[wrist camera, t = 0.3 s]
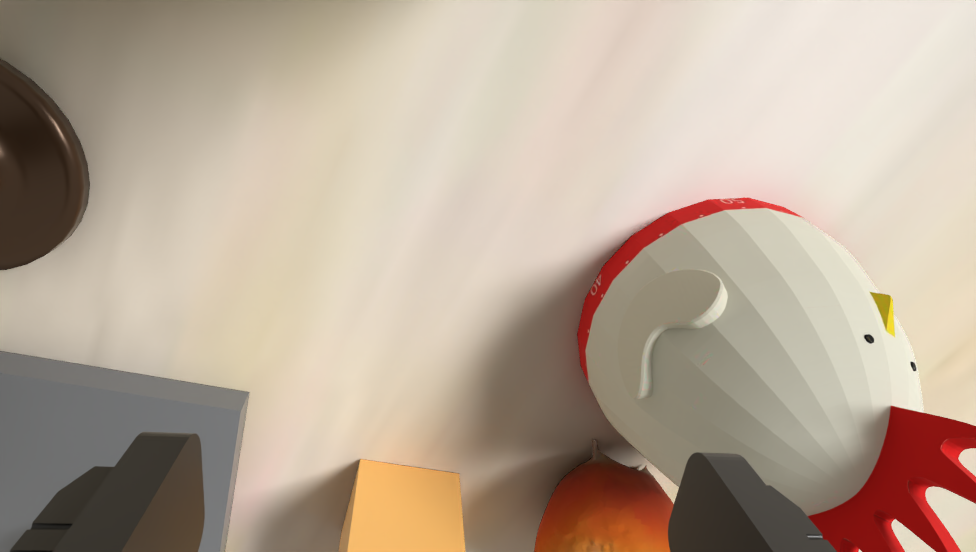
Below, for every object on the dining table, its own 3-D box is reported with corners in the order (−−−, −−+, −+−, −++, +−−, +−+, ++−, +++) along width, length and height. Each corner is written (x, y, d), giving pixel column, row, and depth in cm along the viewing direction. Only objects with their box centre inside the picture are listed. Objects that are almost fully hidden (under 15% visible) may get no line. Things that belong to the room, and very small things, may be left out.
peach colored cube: (360, 459, 31) (347, 552, 26) (459, 473, 32) (466, 566, 27) (341, 532, 33) (325, 633, 28) (434, 543, 35) (437, 642, 29)
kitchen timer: (887, 279, 30) (1268, 496, 17) (718, 461, 34) (911, 754, 21) (691, 143, 26) (986, 285, 12) (526, 370, 30) (611, 662, 17)
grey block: (-23, 347, 26) (-138, 434, 21) (249, 392, 29) (209, 480, 23) (-8, 585, 32) (-95, 700, 27) (216, 605, 35) (178, 714, 29)
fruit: (712, 451, 32) (731, 616, 27) (628, 484, 38) (631, 624, 33) (586, 411, 30) (583, 583, 25) (519, 453, 36) (505, 598, 31)
